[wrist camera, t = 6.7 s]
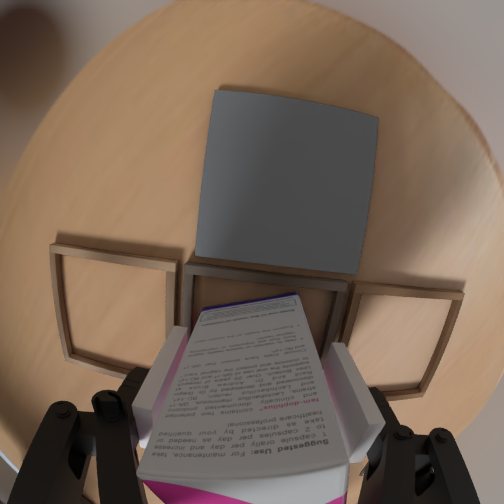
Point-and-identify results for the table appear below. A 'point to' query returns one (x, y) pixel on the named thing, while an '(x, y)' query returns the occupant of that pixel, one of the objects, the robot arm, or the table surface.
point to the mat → (286, 182)
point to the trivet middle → (267, 278)
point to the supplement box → (248, 414)
